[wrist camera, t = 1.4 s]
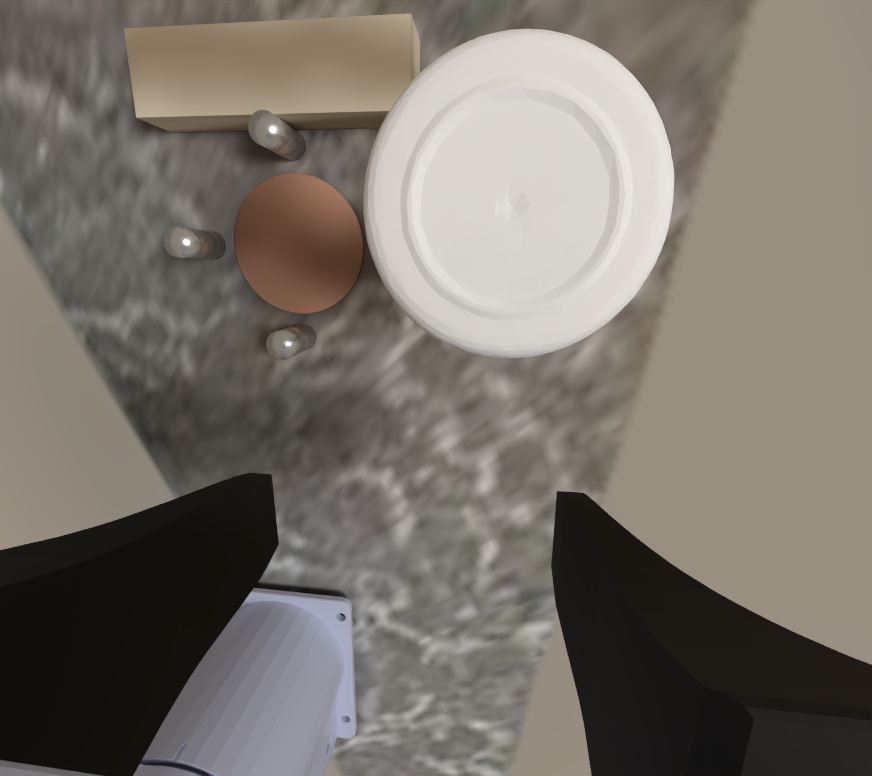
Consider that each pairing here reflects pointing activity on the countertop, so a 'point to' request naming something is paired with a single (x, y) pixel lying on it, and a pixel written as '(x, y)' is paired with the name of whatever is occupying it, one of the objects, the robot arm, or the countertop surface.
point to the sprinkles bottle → (518, 193)
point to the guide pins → (212, 245)
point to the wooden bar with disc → (295, 105)
